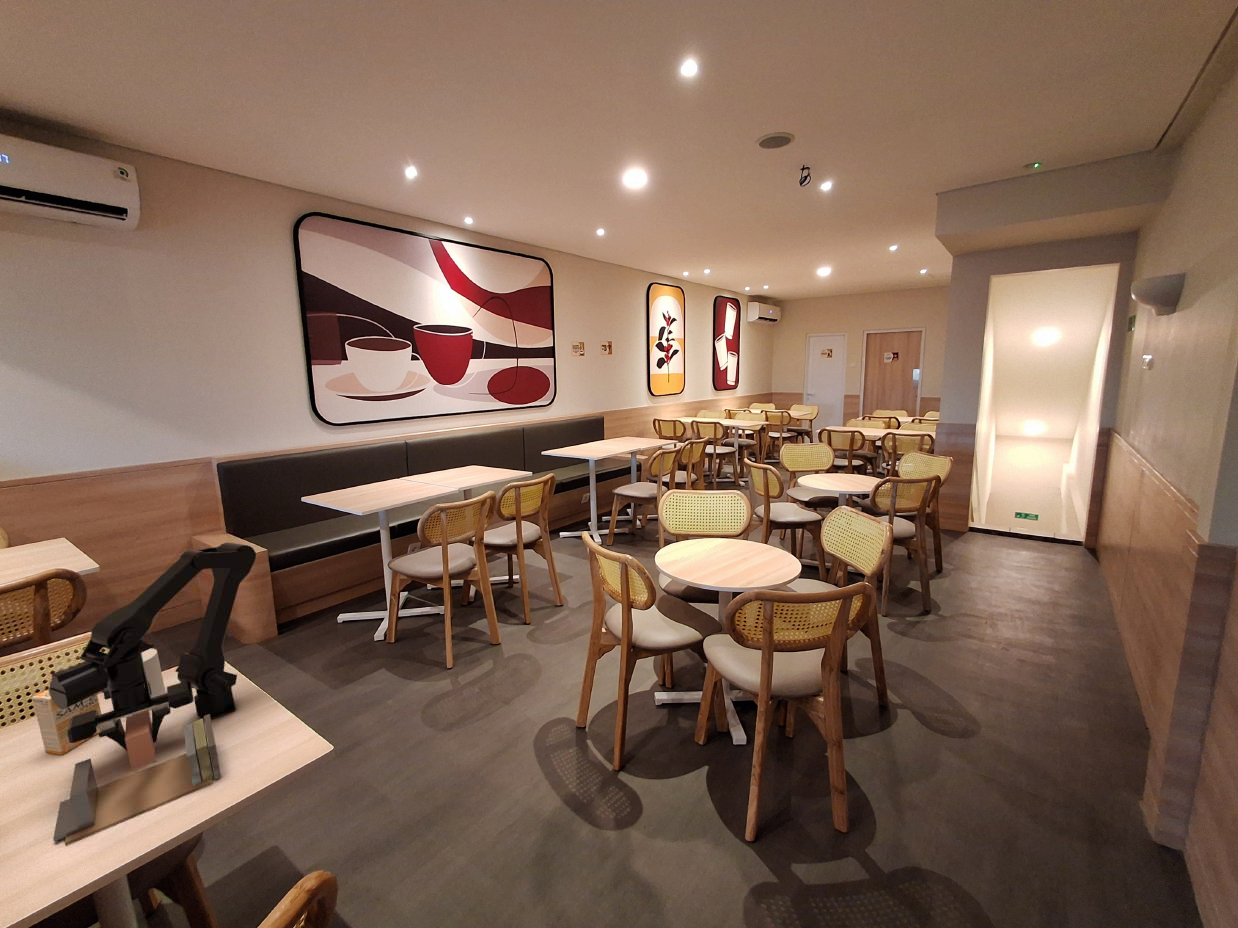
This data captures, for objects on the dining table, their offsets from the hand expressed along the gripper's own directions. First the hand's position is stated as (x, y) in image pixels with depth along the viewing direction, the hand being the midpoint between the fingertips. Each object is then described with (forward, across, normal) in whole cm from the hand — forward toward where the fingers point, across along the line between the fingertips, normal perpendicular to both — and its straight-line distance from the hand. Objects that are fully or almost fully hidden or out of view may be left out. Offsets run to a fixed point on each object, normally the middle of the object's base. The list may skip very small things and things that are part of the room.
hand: (142, 746), depth 112 cm
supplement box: (+2, +11, -15) cm, 19 cm away
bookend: (+1, +9, +13) cm, 16 cm away
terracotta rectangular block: (+2, 0, 0) cm, 2 cm away
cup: (+2, 0, -22) cm, 22 cm away
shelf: (+2, -1, +13) cm, 13 cm away
